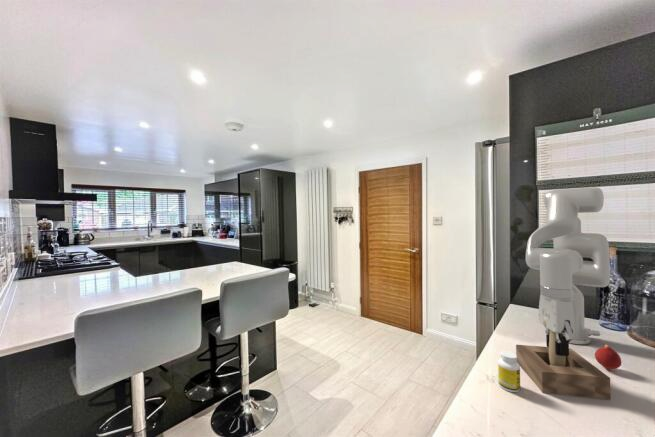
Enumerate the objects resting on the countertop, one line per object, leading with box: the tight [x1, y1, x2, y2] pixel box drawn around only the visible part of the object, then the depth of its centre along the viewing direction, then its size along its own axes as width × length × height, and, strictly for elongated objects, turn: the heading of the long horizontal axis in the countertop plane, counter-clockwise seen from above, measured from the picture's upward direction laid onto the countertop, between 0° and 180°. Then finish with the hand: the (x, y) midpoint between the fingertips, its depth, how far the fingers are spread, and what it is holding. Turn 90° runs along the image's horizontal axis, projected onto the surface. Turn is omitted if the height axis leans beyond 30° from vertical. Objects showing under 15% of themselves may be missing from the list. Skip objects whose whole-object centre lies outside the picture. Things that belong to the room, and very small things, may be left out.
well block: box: [515, 344, 612, 401], centre depth 81 cm, size 16×16×6 cm
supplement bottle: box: [497, 350, 521, 393], centre depth 78 cm, size 5×5×10 cm
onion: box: [594, 344, 622, 371], centre depth 85 cm, size 6×6×8 cm
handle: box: [542, 320, 566, 367], centre depth 81 cm, size 5×6×15 cm
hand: (557, 350), depth 81 cm, fingers closed on handle, 3 cm apart
